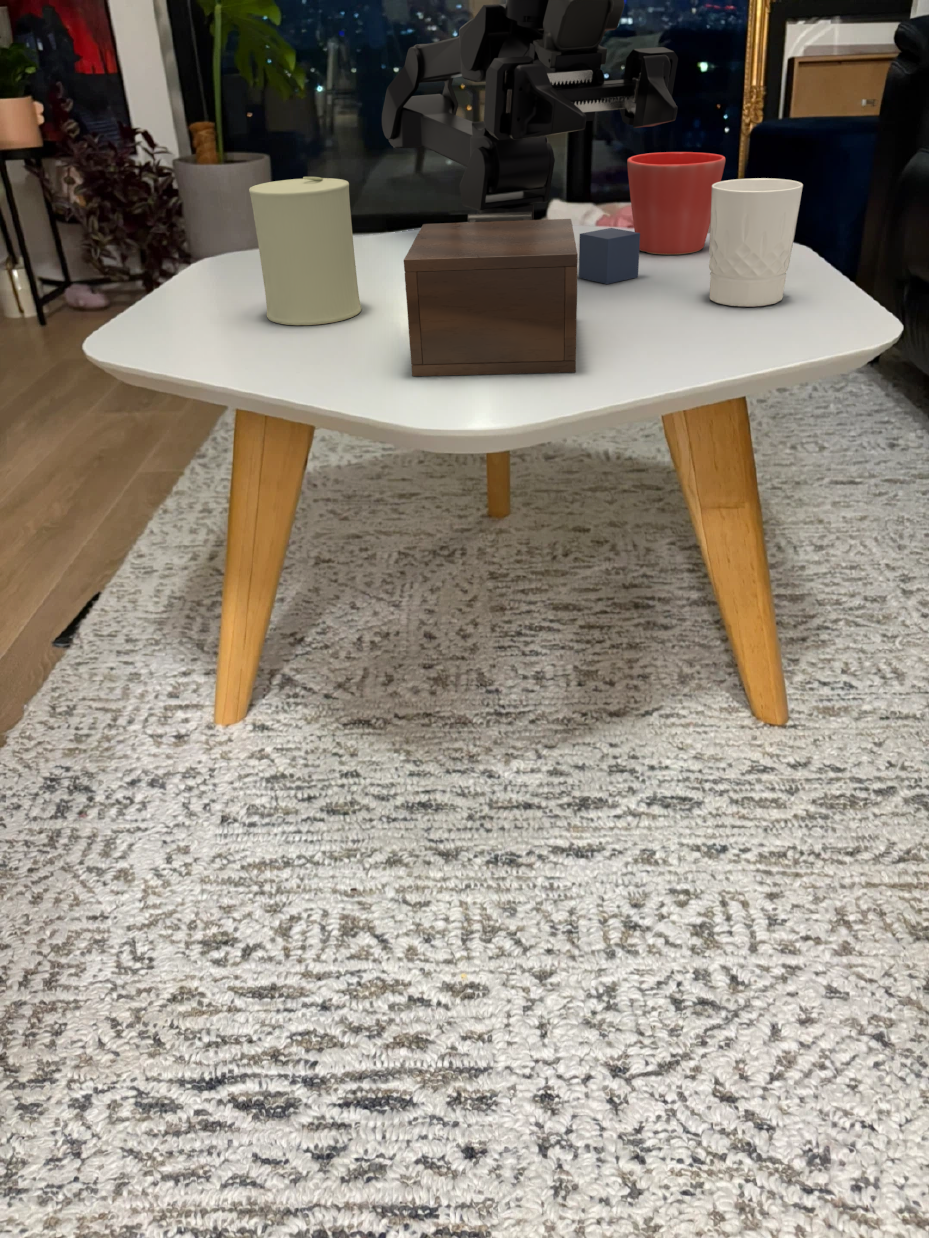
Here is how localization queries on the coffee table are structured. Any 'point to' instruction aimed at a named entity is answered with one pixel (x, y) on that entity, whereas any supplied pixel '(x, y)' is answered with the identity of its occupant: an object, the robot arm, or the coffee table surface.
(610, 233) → the block
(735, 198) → the white cup
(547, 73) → the robot arm
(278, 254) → the can
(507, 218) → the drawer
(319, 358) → the coffee table surface
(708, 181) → the flower pot
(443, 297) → the cabinet
